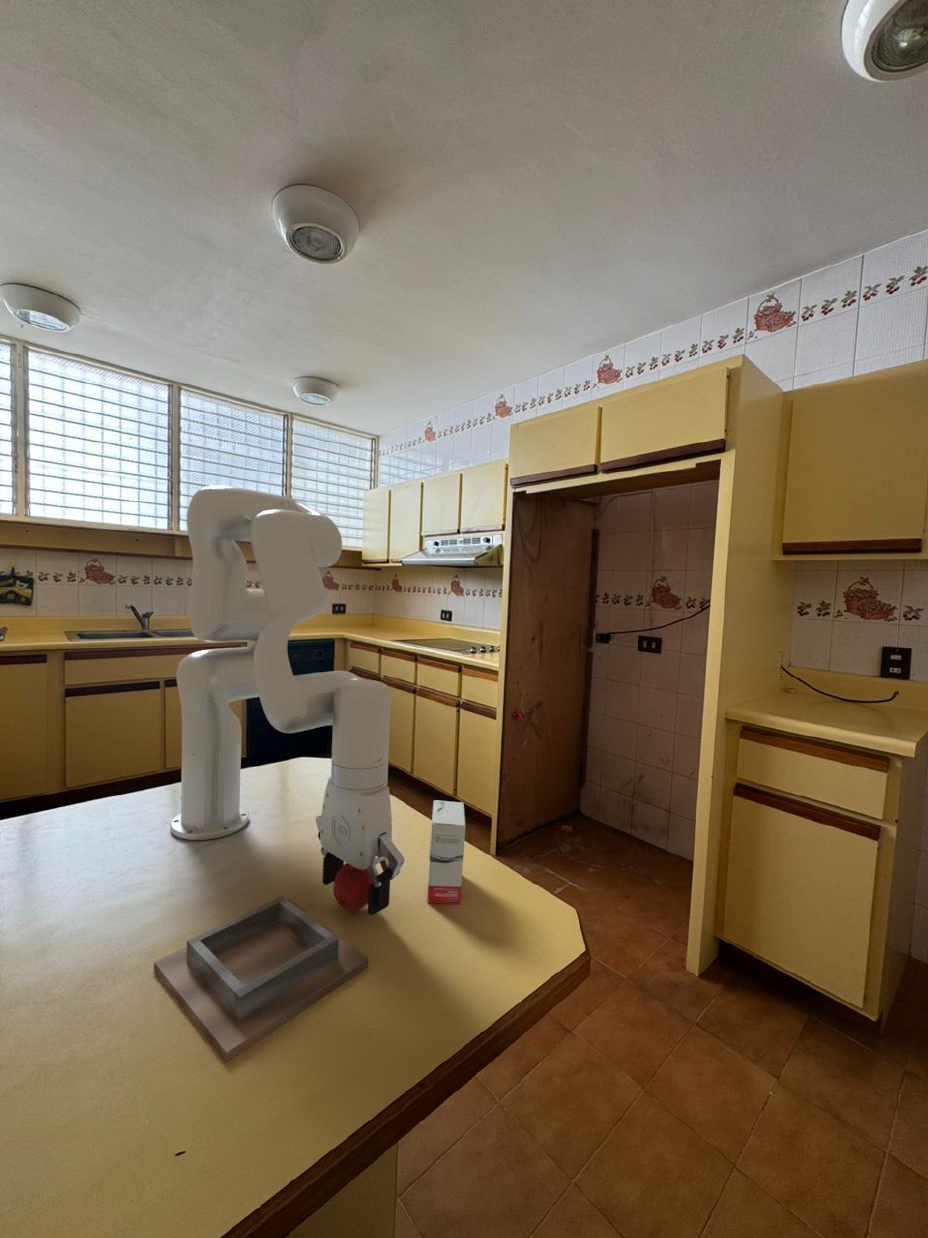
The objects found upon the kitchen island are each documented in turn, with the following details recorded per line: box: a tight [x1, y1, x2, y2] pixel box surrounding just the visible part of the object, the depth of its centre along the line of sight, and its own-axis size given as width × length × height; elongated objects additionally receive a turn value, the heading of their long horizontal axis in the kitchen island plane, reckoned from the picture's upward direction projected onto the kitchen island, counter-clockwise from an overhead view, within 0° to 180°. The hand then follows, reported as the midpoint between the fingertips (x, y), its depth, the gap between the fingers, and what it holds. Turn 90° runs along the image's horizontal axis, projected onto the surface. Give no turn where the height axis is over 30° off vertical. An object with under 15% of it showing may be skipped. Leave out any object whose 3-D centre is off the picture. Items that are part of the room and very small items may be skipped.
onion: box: [332, 862, 372, 913], centre depth 72 cm, size 6×6×8 cm
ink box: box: [426, 799, 466, 905], centre depth 79 cm, size 8×5×12 cm, turn 2°
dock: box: [153, 895, 369, 1063], centre depth 61 cm, size 17×17×4 cm
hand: (354, 895), depth 72 cm, fingers open, 9 cm apart
